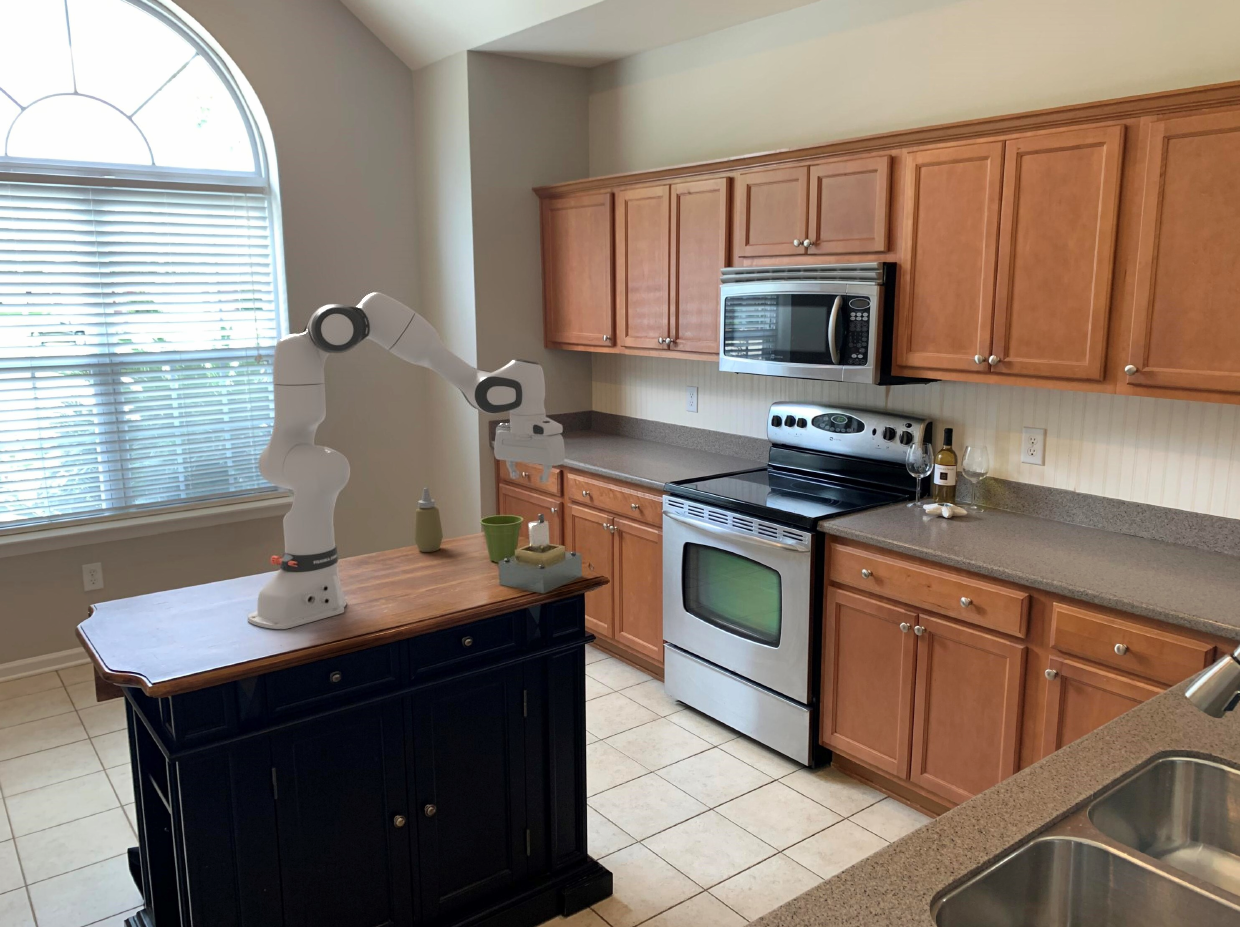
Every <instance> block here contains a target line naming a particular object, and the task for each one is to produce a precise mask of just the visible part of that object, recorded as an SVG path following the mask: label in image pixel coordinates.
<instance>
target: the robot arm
mask: <svg viewBox="0 0 1240 927" xmlns="http://www.w3.org/2000/svg"><path fill="white" fill-rule="evenodd" d="M365 339H366V340H367V339H368V340H370V341H373V342H375V344H379V346H381V347H383V348H384V349H385V350H387V351H388V352H390V354H392V355H395V356H396V357H398V358H400V359H401V360H404V361H406V362H408V363H410V364H413V365H415V366H421V367H423V368H427V369H430V370H432V371H434V372H435V373H436V374H438V375H439V376H440V377H442V378H443V379H445V380H446V381H448V382H449V383H451V384H452V385H453V386H455V387H456V388H458V390H460V392H461V393H462V395H463V397H464V398H465V401H467V403H468V404H469V405H470V406H471V407H472V408H474V409H476V410H477V411H481V412H483V413H486V414H489V415H497V414H501V413H504V412H509V423H505V422H501V423H500V424H498V425H497V426H496V427H495V437H494V448H493V453H494V454H493V455H494V457H495V459H496V460H499V461H500V460H501V461H503V460H504V461H505V465H506V467H507V469H508V470H509V473H510V474H509V476H510V479H513V480H515V479H519V477H520V471H519V470H517V469H516V463H518V462H519V463H528V464H535V465H536V464H538V465H541V466H542V469H543V472H542V474H539V479H538V480H539V482H540V483H548V482H549V476H550V473H551V471H552V469H553V466H559V465H562V464H563V463H564V462H565V459H566V457H565V456H566V455H565V454H566V452H565V441H564V437H563V436H562V433H563V430H564V429H563V424H561V423H558V422H557V421H555V420H553V419H551V418H549V417H548V416H547V415H546V414H547V412H546V408H545V398H546V384H545V375H544V374H545V373H544V369H543V367H542V366H541V365H540V364H539V363H538V362H537V361H531V360H526V359H519V358H515V359H512V360H511V361H510V362H509V363H507V364H505V365H504V366H502V367H500V368H499V369H497V370H495V371H490V370H489V371H488V370H485V369H480V368H476V367H474V366H472V365H470V364H469V363H467V362H466V361H464V360H463V359H462V358H461V357H459V356H458V355H456V354H455V353H453V352H452V351H451V350H449V348H447V346H446V345H444V343H443V342H442V340H441V338H440V335H439V333H438V331H437V330H436V329H435V327H434V326H432V324H430V322H429V321H427V320H426V319H425V318H424V317H423V316H421V315H420V314H419V313H418V312H416V311H414V310H413V309H412V308H410V307H409V306H407V305H405V304H404V303H402V302H401V301H399V300H396V299H395V298H393V297H391V296H389V295H387V294H384V293H382V292H377V291H376V292H372V293H369V294H367V295H366V296H365V297H363V298H362V299H361V300H360V301H359V303H358V304H357V305H355V306H351V305H343V304H340V303H333V302H332V303H327V304H324V305H322V306H320V307H317V309H316V310H314V311H313V313H312V315H310V318H309V320H308V321H307V323H306V325H305V327H304V329H303V331H302V332H301V333H290V334H287V335H285V336H283V337H281V338H280V339H279V340H278V341H277V342H276V344H275V347H274V348H275V349H274V355H273V369H272V370H273V371H272V378H273V379H272V380H273V382H272V383H273V400H274V401H273V403H274V406H273V407H274V417H273V418H274V419H273V420H274V421H273V427H272V431H271V435H270V439H269V442H268V444H267V446H266V447H264V449H262V451H261V453H260V454H259V457H258V463H257V464H258V465H257V466H258V470H259V473H260V475H261V477H262V479H264V480H265V481H266V482H268V483H270V484H272V485H274V486H275V487H277V488H280V489H286V490H292V491H293V499H292V500H293V501H292V505H291V508H290V509H289V511H288V512H287V513H286V514H285V515H284V517H283V521H282V524H283V525H282V526H283V537H284V552H283V554H282V556H278V555H272V556H271V558H269V559H270V564H272V565H276V566H279V568H280V569H279V570H278V571H277V572H276V574H275V575H274V576H273V577H272V578H271V579H270V580H269V581H268V582H267V584H265V586H264V587H263V588H261V590H260V591H259V593H258V596H257V604H256V605H257V608H256V609H257V610H255V611H253V612H250V613H248V615H247V621H248V623H250V624H251V625H254V626H258V627H261V628H266V629H274V630H286V629H290V628H295V627H298V626H300V625H301V626H302V625H306V624H308V623H312V622H315V621H319V620H322V619H326V618H329V617H334V616H337V615H340V614H344V612H345V607H346V605H347V599H346V598H345V594H344V592H343V589H342V585H341V581H340V577H339V576H340V575H339V569H338V562H339V554H338V546H337V545H336V544H335V543H336V542H335V526H334V512H335V505H336V502H337V498H338V497H339V493H340V492H341V491H342V490H343V489H344V488H345V487H346V486H347V484H348V482H349V480H350V478H351V477H350V476H351V466H350V463H349V460H348V458H347V457H346V456H345V455H344V454H343V453H341V452H339V451H337V450H335V449H333V448H330V447H328V446H324V445H323V446H322V445H316V444H315V436H316V432H317V430H318V428H319V425H320V424H321V423H322V422H324V420H325V419H326V415H327V410H326V409H327V408H326V407H327V406H326V404H327V402H326V385H325V382H326V381H325V363H326V359H327V358H328V356H329V355H331V354H343V353H344V354H345V353H346V352H349V351H350V350H352V349H354V348H355V347H356V346H357V345H359V344H360V343H361V342H362V341H364V340H365Z"/></svg>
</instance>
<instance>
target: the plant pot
mask: <svg viewBox="0 0 1240 927" xmlns="http://www.w3.org/2000/svg"><path fill="white" fill-rule="evenodd" d="M522 522H524V518H523V517H522V516H517V515H512V514H511V515H510V514H508V515H507V514H499V515H498V514H497V515H490V516H486V517H483V518H481V519H479V523H480V524H481V526H482V530H483V532H484V536H485V537H484V538H485V542H486V547H487V552H488V553H487V554H488V557H489V560H490V562H494V563H498V564H499V561H502V560H504V559H505V558H510V557H512V556H515V550H516V549H518V545H519V538H520V531H521V527H522Z"/></svg>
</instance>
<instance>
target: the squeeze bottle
mask: <svg viewBox="0 0 1240 927" xmlns="http://www.w3.org/2000/svg"><path fill="white" fill-rule="evenodd" d="M430 495H431V494H430V491H429V488H427V487H424V488H423V490H422V495H421V496H422V497H421V500H420V499H419V500H418V501H417V506H418V508H416V509H415V512H414V532H413V534H414V535H413V536H414V537H413V540H414V542H415V544H416V547H417V549H418V552H422V553H423V552H424V553H433V552H436V551H439V550H440V548H441V545H442V541H443V537H444V535H443V528H442V522H441V517H440V510H439V508H437V507H436V500H434V499H432V498H431V496H430Z"/></svg>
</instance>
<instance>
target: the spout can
mask: <svg viewBox="0 0 1240 927" xmlns="http://www.w3.org/2000/svg"><path fill="white" fill-rule="evenodd" d="M537 516H538V520H533V521H529V522H528V523H527V525H528V541H529V542H528V543H529V544H528V545H529V546H530V551H531V552H537V553H545V552H547V551H550V548H549V544H550V529H549V528H550V526H549V521H547V520H545V514H544V513H538V514H537Z"/></svg>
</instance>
